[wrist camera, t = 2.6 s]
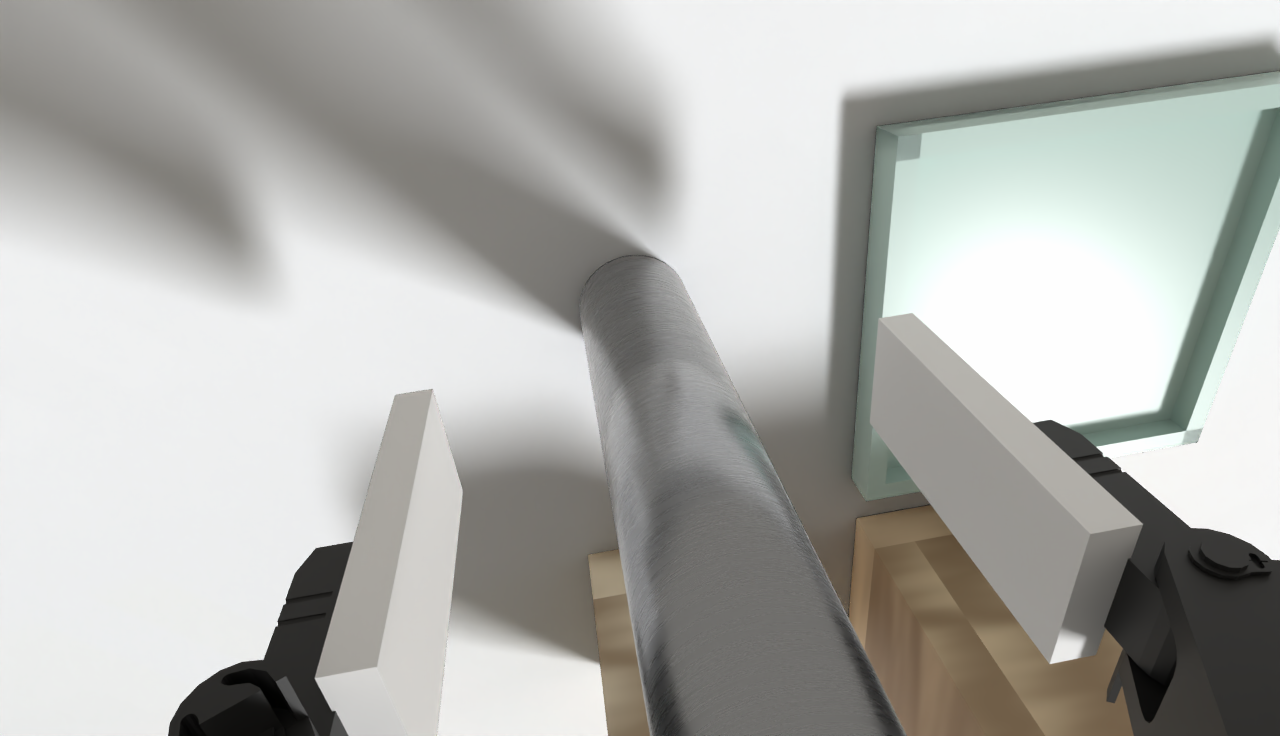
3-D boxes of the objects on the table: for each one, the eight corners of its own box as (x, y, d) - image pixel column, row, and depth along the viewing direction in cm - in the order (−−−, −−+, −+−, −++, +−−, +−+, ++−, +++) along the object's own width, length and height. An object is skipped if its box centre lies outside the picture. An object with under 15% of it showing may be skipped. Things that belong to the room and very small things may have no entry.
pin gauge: (587, 361, 20) (702, 1058, 7) (571, 264, 19) (684, 934, 6) (690, 345, 21) (973, 995, 8) (683, 247, 19) (1023, 858, 6)
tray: (851, 478, 24) (866, 501, 23) (876, 126, 18) (898, 136, 17) (1169, 422, 25) (1197, 442, 24) (1293, 68, 19) (1338, 75, 18)
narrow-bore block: (608, 666, 27) (638, 905, 20) (587, 553, 24) (614, 791, 17) (761, 637, 28) (839, 861, 21) (759, 523, 25) (851, 742, 18)
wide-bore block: (846, 647, 29) (965, 901, 21) (856, 518, 25) (1005, 768, 17) (1010, 615, 29) (1185, 852, 21) (1043, 484, 26) (1268, 712, 18)
